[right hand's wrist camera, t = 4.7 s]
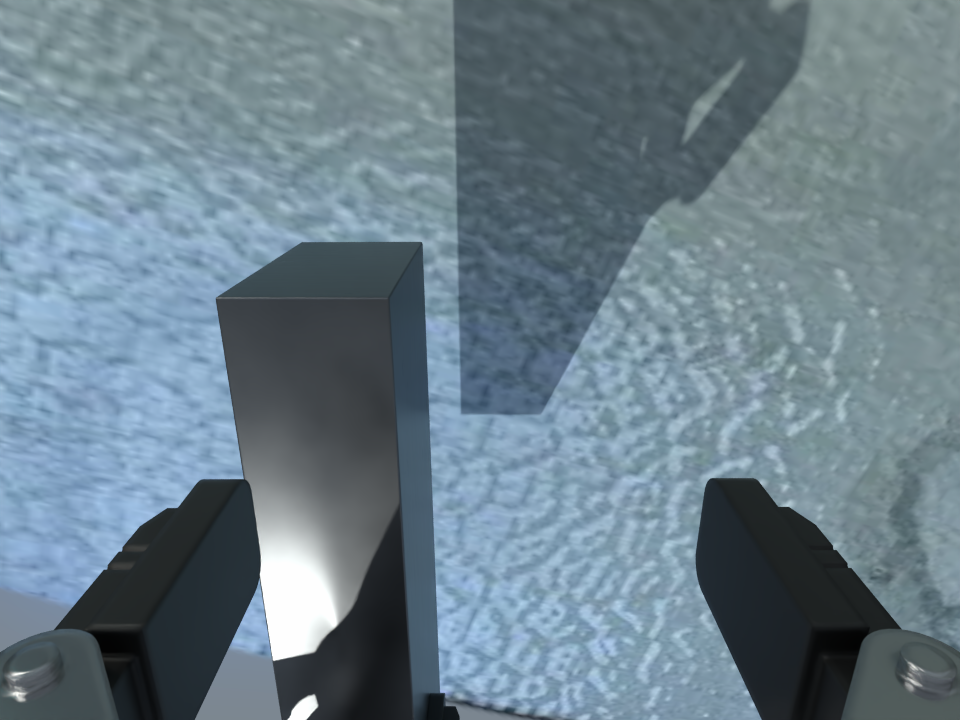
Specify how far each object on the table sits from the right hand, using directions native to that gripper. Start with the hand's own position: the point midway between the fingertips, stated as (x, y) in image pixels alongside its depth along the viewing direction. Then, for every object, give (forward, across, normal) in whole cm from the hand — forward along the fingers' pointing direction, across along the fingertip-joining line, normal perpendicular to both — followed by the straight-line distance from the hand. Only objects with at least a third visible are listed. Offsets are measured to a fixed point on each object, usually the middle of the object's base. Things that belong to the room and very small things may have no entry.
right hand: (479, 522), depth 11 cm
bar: (+16, -4, -10) cm, 19 cm away
